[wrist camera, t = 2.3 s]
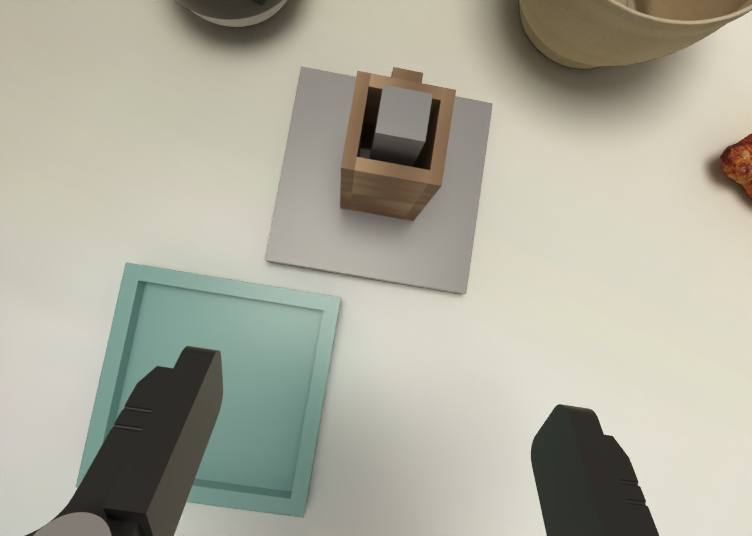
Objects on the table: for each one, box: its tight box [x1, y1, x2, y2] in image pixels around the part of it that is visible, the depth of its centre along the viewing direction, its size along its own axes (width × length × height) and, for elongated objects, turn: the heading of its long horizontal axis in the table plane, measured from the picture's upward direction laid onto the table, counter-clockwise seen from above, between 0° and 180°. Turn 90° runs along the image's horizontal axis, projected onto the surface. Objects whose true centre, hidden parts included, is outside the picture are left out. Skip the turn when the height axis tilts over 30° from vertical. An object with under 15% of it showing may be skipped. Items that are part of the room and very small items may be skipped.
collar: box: [340, 67, 456, 221], centre depth 29 cm, size 5×6×9 cm
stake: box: [265, 67, 492, 294], centre depth 28 cm, size 14×14×12 cm
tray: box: [76, 263, 341, 518], centre depth 31 cm, size 14×14×2 cm
